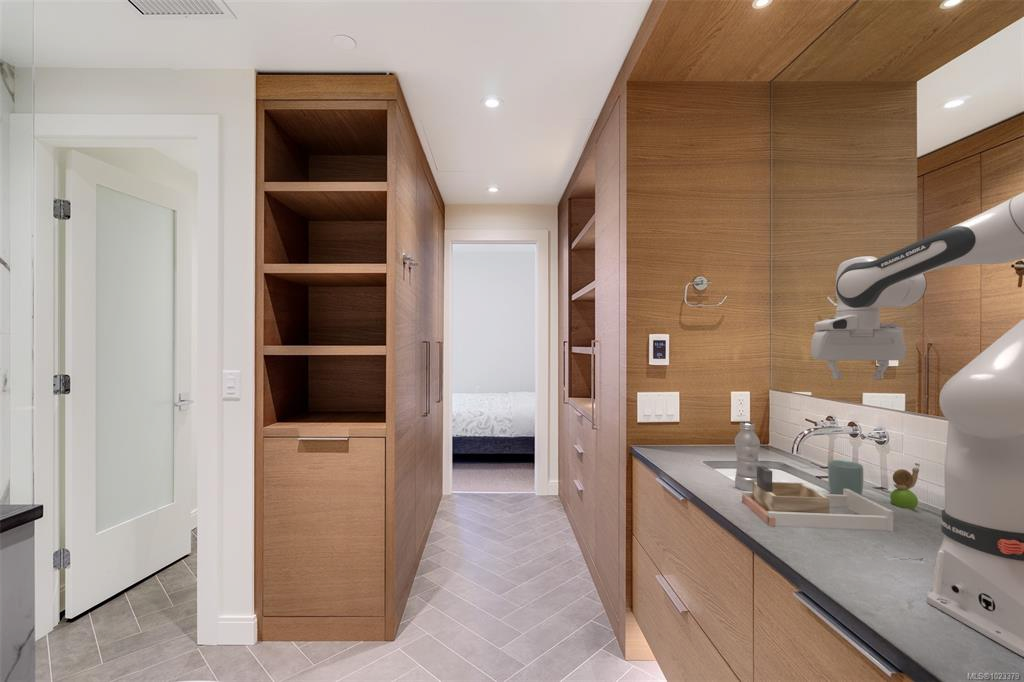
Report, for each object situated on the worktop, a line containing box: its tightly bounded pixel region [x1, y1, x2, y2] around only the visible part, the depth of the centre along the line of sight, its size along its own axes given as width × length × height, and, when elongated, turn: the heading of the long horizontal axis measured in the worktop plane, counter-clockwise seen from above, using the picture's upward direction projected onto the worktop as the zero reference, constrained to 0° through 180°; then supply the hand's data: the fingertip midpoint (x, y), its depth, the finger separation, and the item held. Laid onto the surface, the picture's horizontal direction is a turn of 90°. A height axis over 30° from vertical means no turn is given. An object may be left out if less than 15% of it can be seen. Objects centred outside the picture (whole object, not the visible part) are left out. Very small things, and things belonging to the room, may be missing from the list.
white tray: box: [741, 489, 894, 532], centre depth 110 cm, size 16×26×6 cm, turn 84°
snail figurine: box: [889, 462, 921, 511], centre depth 117 cm, size 5×6×12 cm
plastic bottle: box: [733, 421, 761, 492], centre depth 131 cm, size 6×7×20 cm
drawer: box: [753, 465, 830, 514], centre depth 111 cm, size 12×12×11 cm
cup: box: [827, 459, 864, 496], centre depth 124 cm, size 8×8×10 cm
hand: (857, 378), depth 113 cm, fingers open, 8 cm apart
